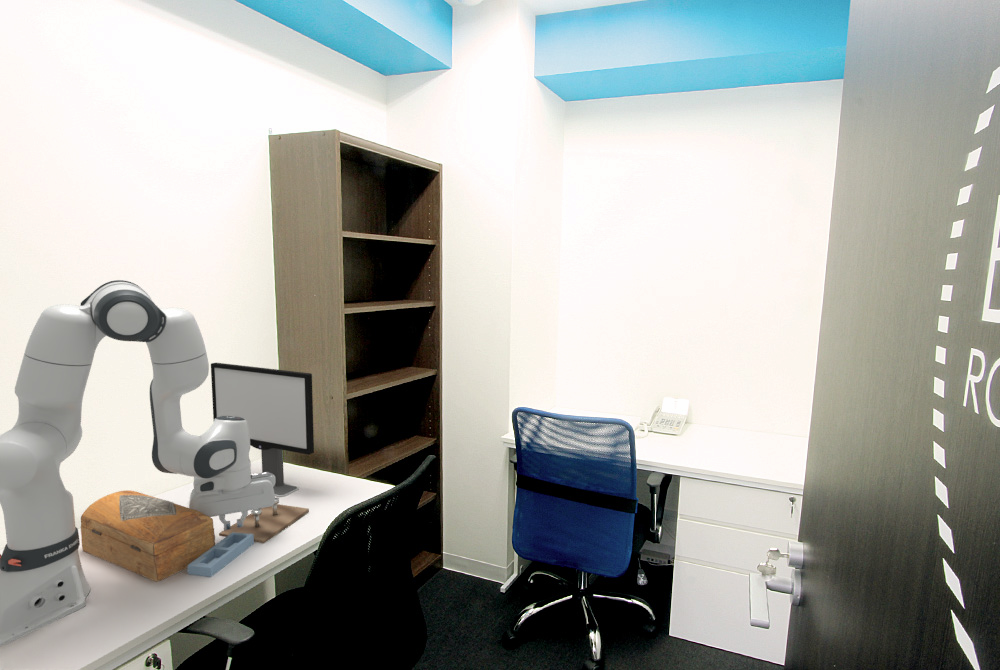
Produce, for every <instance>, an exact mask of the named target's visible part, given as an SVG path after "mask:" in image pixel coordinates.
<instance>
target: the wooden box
mask: <svg viewBox="0 0 1000 670" xmlns="http://www.w3.org/2000/svg"><path fill="white" fill-rule="evenodd" d="M80 534H81V538H80V539H81V549H82V552H84V553H87V554H90V555H92V556H94V557H97V558H99V559H101V560H104V561H106V562H109V563H111V564H113V565H116V566H118V567H120V568H122V569H126V570H128V571H130V572H133V573H135V574H138V575H140V576H143V577H145V578H147V579H149V580H151V581H154V582H160V581H162V580H164V579H167V578H169V577H170V576H173V575H175V574H177V573H180V572H182V571H183V570H186V569H188V568H187V565H189V564H190V563H191V562H193V561H194V560H195V559H197V558H198V557H200V556H201V555H202V554H204V553H205V552H206V551H208V550H209V549H210V548H212V547H213V546H214V545H216V538H215V528H214V519H213V518H212V517H209V516H207V515H205V514H203V513H201V512H199V511H197V510H193V509H189V507H187V506H184V505H181V504H177V503H175V502H173V501H169V500H166V499H162V498H159V497H154V496H151V495H149V494H145V493H142V492H139V491H136V490H118V491H116V492H112V493H109V494H107V495H105V496H102V497H100V498H98V499H97V500H95V501H94V502H93V503H91V504H89V506H88V507H87V508H86V509H85V510H84V511H83V512H82V514H81V516H80Z"/></svg>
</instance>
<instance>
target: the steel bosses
mask: <svg viewBox="0 0 1000 670" xmlns="http://www.w3.org/2000/svg"><path fill="white" fill-rule="evenodd" d="M279 503H280V497H275V503H274V505H273V506H272V512H273V516H275V515H277V504H279ZM250 511H251V513H250V514H251V515H252V516H254V519H255V527H259V526H260V525H259V515H261V514H262V509H254V510H250Z"/></svg>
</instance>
